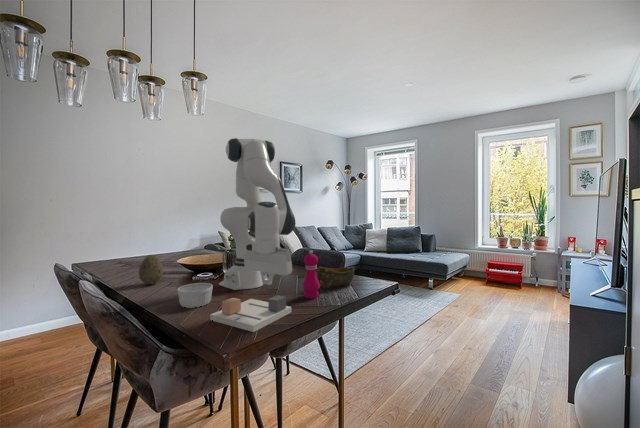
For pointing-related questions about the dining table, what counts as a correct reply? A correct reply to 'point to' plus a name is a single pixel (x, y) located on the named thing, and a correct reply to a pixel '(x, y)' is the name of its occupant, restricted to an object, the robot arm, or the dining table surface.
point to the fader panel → (250, 315)
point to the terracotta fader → (231, 306)
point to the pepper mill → (311, 276)
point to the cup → (335, 277)
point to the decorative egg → (150, 270)
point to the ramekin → (195, 294)
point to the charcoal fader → (277, 303)
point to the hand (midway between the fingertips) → (267, 283)
